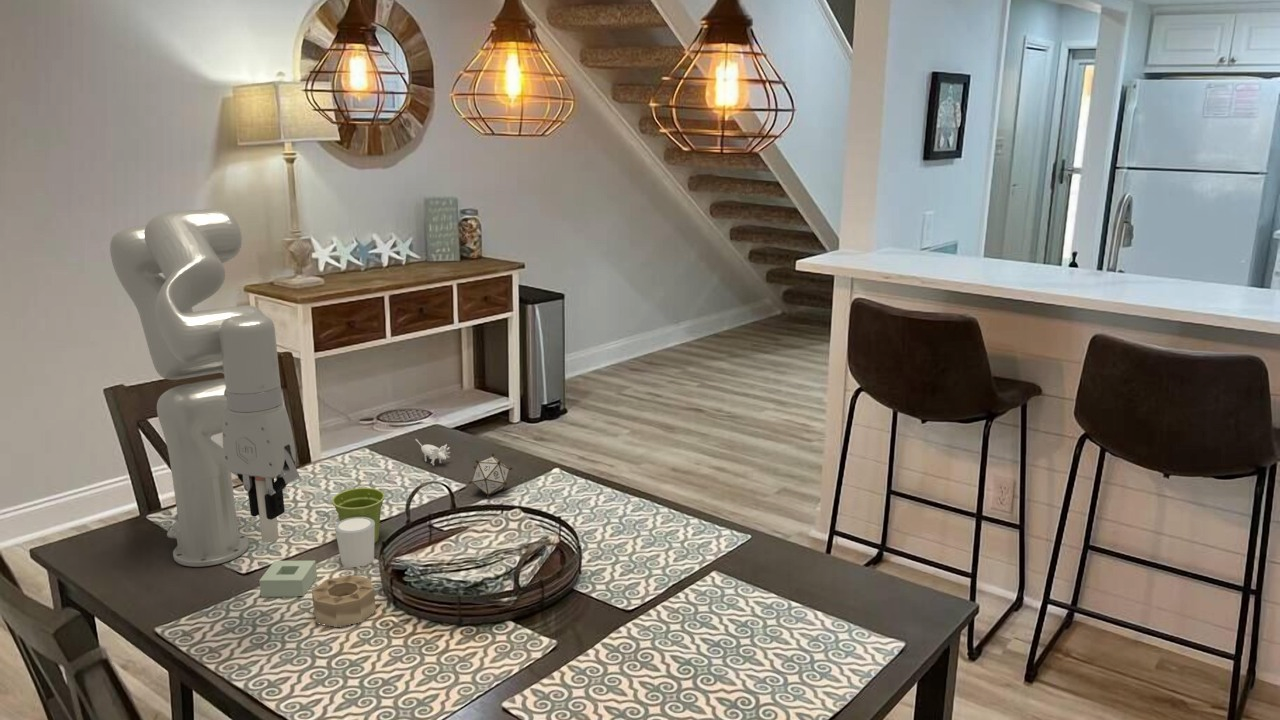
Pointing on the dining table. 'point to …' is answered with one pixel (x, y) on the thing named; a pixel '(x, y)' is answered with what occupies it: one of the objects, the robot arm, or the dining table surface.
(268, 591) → the green square-hole block
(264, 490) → the red-capped white cylinder
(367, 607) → the bead
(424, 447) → the white triceratops figurine
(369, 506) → the plant pot
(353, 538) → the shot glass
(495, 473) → the game die
